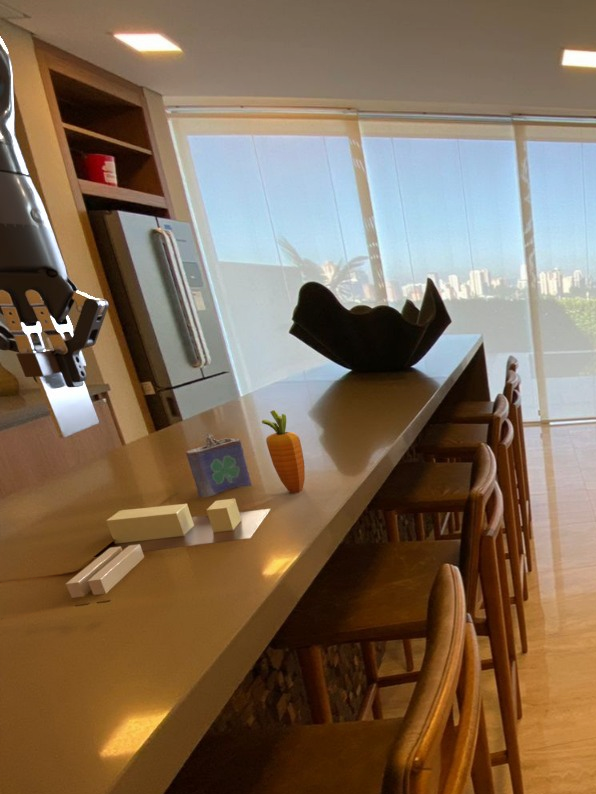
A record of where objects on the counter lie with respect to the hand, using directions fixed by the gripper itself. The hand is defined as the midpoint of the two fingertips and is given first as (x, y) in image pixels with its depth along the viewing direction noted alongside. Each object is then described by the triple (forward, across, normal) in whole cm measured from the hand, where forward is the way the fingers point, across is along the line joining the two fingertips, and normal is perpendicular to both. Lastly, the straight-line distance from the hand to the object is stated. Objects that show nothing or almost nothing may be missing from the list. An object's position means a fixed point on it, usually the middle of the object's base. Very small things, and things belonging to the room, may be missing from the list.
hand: (63, 386), depth 66 cm
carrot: (+23, -16, -20) cm, 35 cm away
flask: (+23, -4, -26) cm, 35 cm away
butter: (+22, -1, -6) cm, 23 cm away
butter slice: (+22, -10, -6) cm, 25 cm away
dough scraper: (+5, 0, 0) cm, 5 cm away
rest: (+23, -1, +7) cm, 24 cm away
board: (+23, -5, -6) cm, 24 cm away
